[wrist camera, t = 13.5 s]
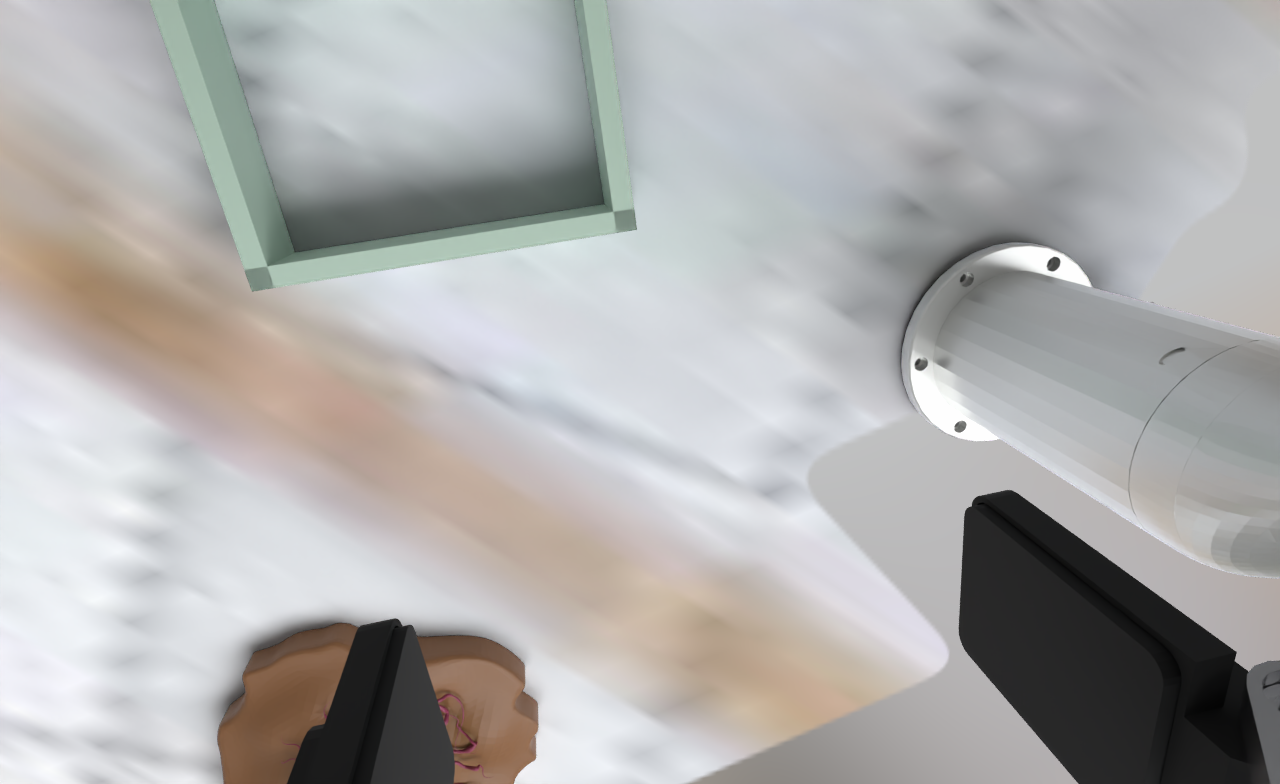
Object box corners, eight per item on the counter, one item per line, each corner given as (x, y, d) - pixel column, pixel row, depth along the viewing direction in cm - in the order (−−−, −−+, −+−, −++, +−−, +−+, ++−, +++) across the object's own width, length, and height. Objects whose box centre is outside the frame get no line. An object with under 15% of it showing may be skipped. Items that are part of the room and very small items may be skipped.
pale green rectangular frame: (582, -87, 31) (590, -117, 28) (625, 220, 37) (636, 229, 33) (176, -41, 30) (126, -66, 26) (281, 275, 35) (251, 291, 31)
